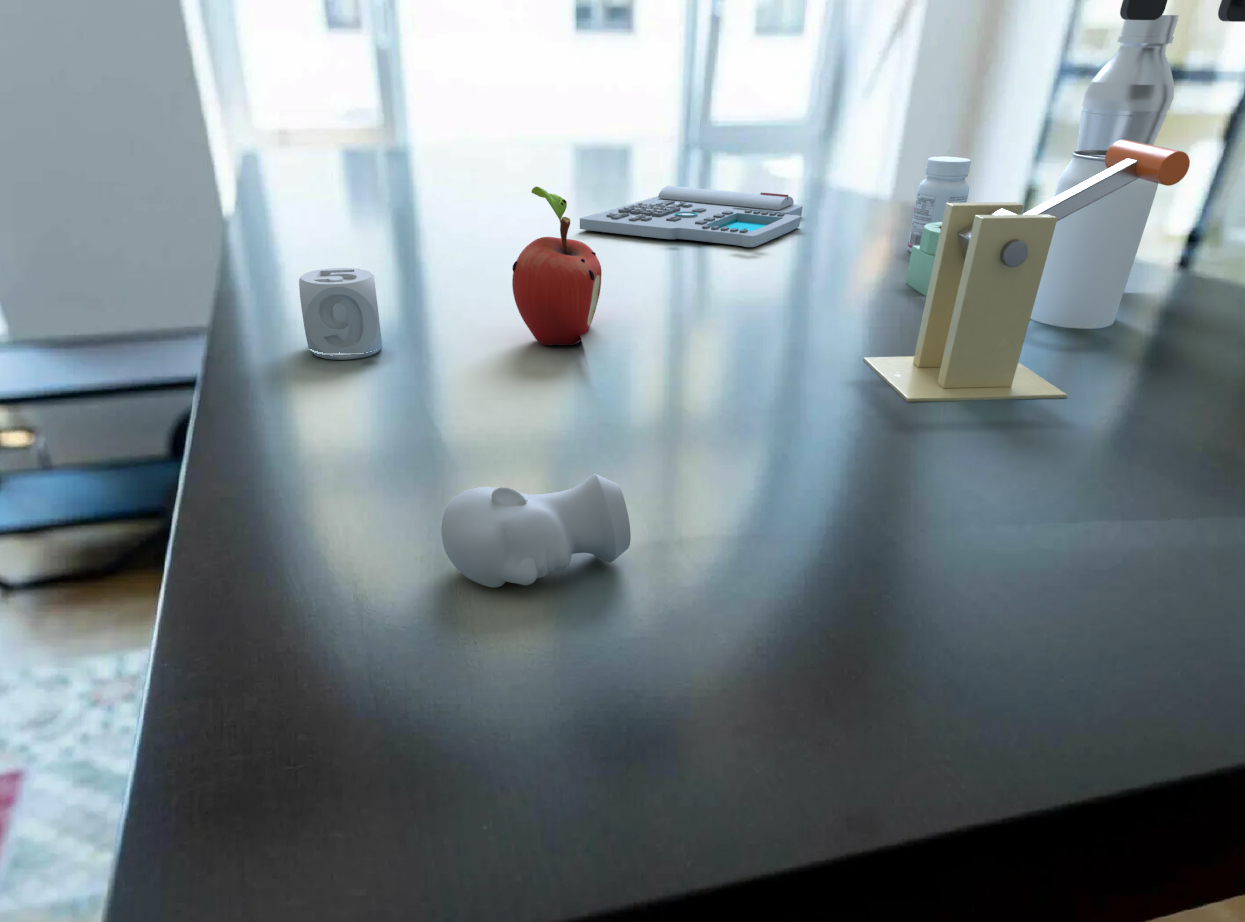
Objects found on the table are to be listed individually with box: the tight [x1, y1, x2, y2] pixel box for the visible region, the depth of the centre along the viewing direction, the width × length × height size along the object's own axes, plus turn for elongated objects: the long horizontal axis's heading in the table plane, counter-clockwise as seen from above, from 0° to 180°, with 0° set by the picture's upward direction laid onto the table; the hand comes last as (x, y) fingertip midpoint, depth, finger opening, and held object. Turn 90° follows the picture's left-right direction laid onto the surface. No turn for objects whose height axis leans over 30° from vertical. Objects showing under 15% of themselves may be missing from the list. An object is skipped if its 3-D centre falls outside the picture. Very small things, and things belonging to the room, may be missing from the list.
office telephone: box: [579, 185, 803, 248], centre depth 105 cm, size 23×3×20 cm
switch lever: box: [957, 140, 1191, 262], centre depth 54 cm, size 11×6×2 cm, turn 95°
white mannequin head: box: [440, 473, 632, 589], centre depth 39 cm, size 4×8×5 cm
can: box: [1030, 150, 1159, 330], centre depth 68 cm, size 6×6×12 cm
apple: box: [511, 185, 602, 346], centre depth 66 cm, size 8×7×10 cm
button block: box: [905, 222, 942, 297], centre depth 80 cm, size 9×8×5 cm
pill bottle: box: [907, 156, 972, 253], centre depth 92 cm, size 5×5×8 cm
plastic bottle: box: [1075, 14, 1180, 151], centre depth 77 cm, size 6×7×20 cm
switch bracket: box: [862, 201, 1068, 403], centre depth 57 cm, size 10×8×11 cm
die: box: [298, 267, 383, 361], centre depth 65 cm, size 5×5×5 cm
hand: (1186, 20), depth 49 cm, fingers open, 8 cm apart
